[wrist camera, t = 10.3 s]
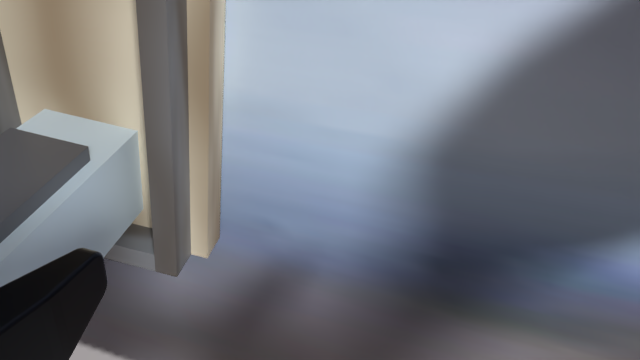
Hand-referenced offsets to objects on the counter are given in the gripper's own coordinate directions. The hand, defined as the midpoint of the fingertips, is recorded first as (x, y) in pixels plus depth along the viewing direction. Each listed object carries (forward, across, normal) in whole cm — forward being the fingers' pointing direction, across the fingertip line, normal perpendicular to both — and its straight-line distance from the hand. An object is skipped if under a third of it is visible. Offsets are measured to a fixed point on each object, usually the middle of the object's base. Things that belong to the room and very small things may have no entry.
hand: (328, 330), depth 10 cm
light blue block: (+10, +12, +6) cm, 16 cm away
